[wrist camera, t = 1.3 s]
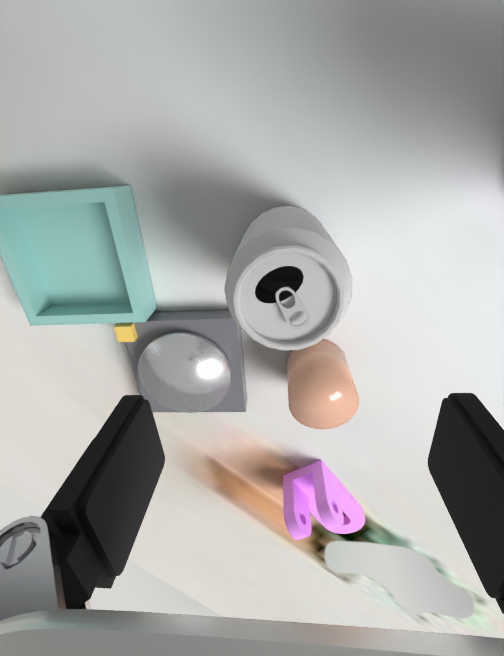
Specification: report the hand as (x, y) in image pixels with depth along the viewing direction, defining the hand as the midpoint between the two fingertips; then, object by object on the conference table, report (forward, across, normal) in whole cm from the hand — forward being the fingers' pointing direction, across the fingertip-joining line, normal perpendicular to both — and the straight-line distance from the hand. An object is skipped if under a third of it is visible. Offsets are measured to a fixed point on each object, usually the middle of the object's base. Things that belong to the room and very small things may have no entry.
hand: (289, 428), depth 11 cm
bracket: (+21, -5, +32) cm, 39 cm away
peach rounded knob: (+20, -3, +11) cm, 23 cm away
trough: (+20, +18, -1) cm, 27 cm away
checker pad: (+18, +10, +10) cm, 23 cm away
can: (+21, 0, -1) cm, 21 cm away
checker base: (+20, +10, +10) cm, 25 cm away
